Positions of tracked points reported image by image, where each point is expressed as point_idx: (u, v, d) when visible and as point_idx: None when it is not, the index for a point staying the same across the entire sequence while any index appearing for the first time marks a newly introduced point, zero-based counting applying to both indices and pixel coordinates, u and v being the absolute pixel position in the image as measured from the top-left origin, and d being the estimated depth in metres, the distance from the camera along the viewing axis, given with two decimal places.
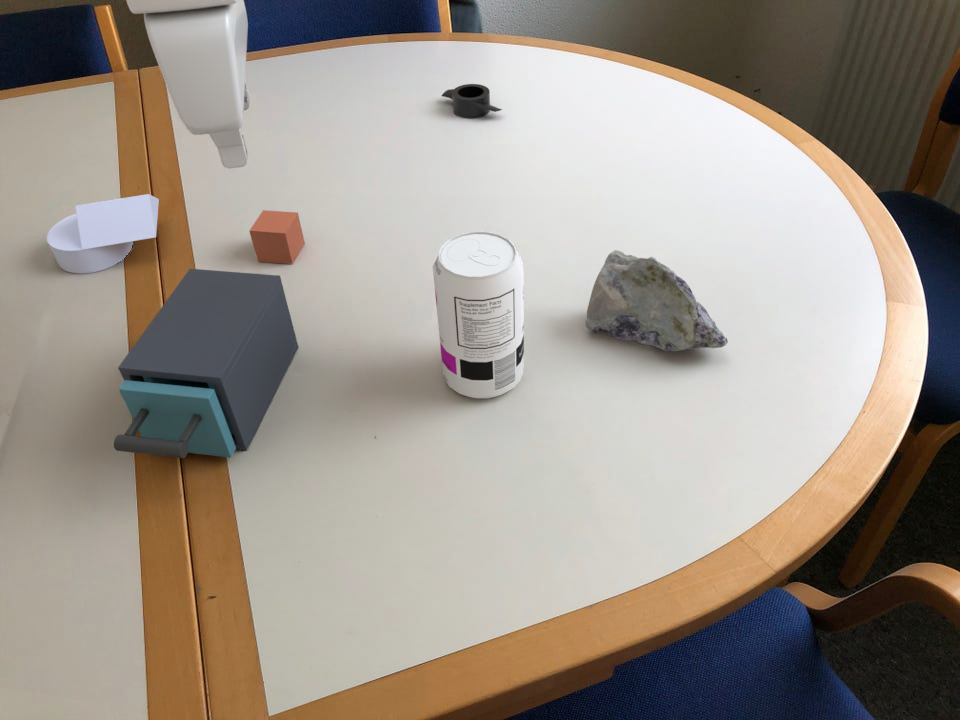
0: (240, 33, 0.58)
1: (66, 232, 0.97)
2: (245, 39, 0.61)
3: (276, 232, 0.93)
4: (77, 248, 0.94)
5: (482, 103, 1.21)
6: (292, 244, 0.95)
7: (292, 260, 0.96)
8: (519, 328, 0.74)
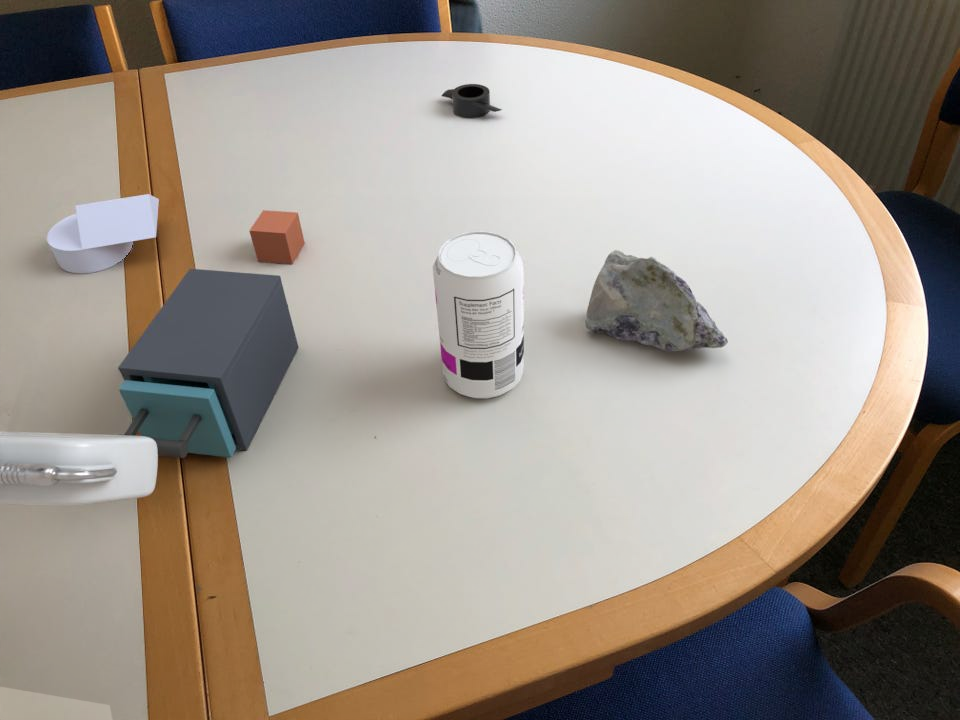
0: None
1: (66, 232, 0.97)
2: None
3: (276, 232, 0.93)
4: (77, 248, 0.94)
5: (482, 103, 1.21)
6: (292, 244, 0.95)
7: (292, 260, 0.96)
8: (519, 328, 0.74)
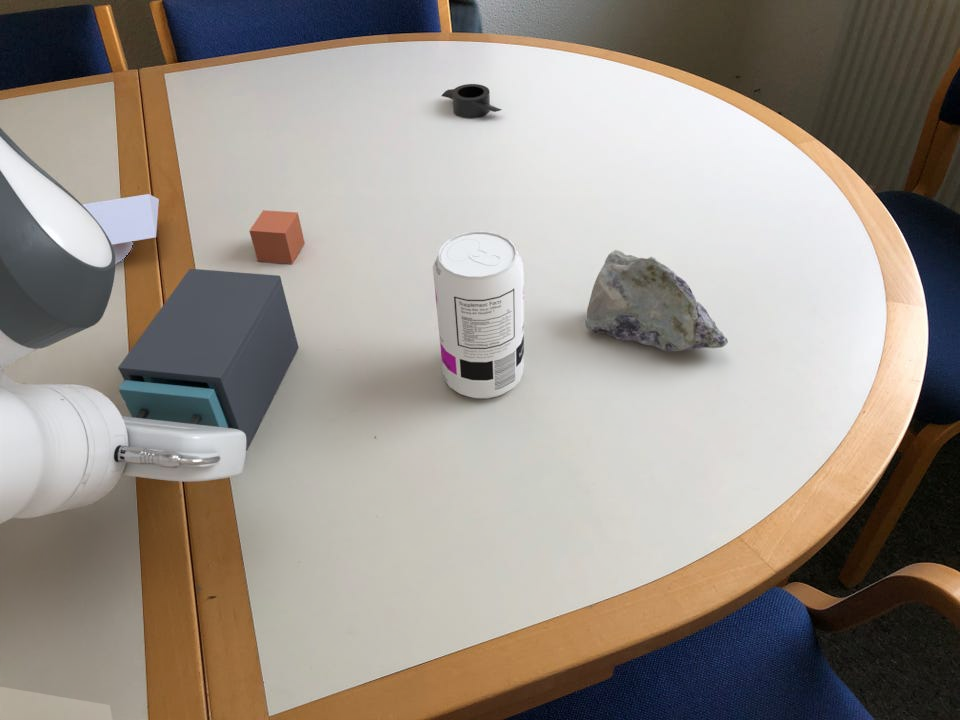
0: None
1: None
2: None
3: (276, 232, 0.93)
4: None
5: (482, 103, 1.21)
6: (292, 244, 0.95)
7: (292, 260, 0.96)
8: (519, 328, 0.74)
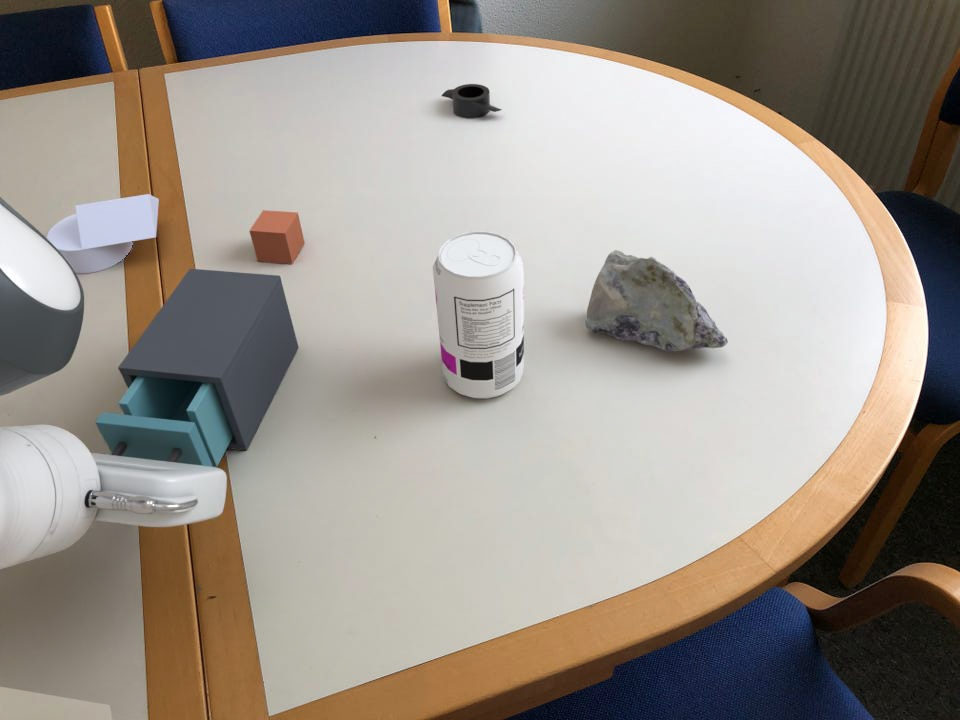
0: None
1: (66, 232, 0.97)
2: None
3: (276, 232, 0.93)
4: (77, 248, 0.94)
5: (482, 103, 1.21)
6: (292, 244, 0.95)
7: (292, 260, 0.96)
8: (519, 328, 0.74)
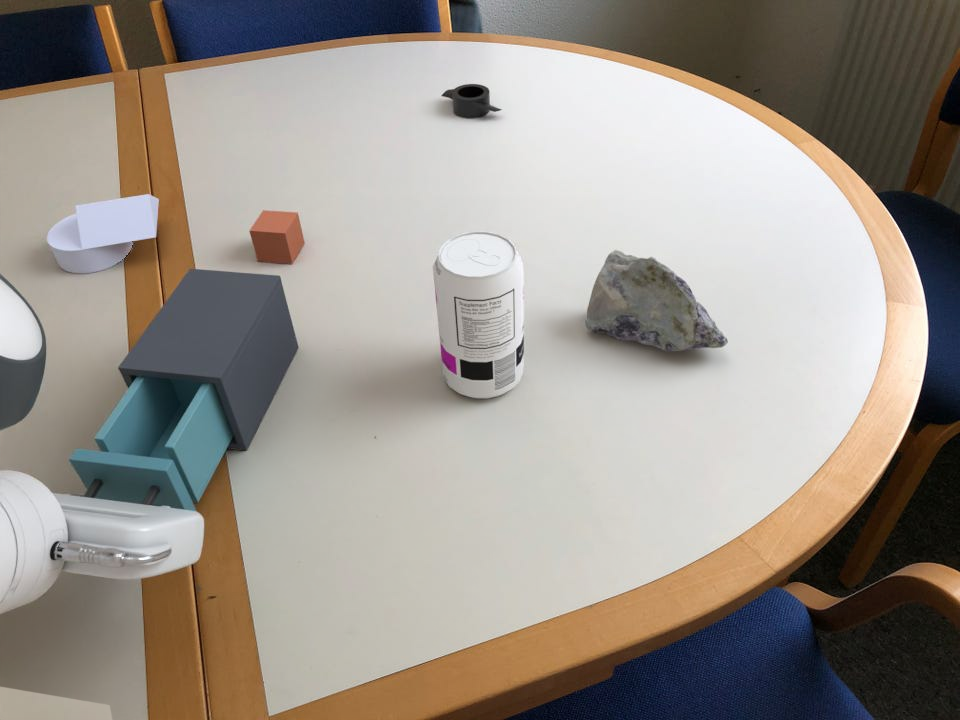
0: None
1: (66, 232, 0.97)
2: None
3: (276, 232, 0.93)
4: (77, 248, 0.94)
5: (482, 103, 1.21)
6: (292, 244, 0.95)
7: (292, 260, 0.96)
8: (519, 328, 0.74)
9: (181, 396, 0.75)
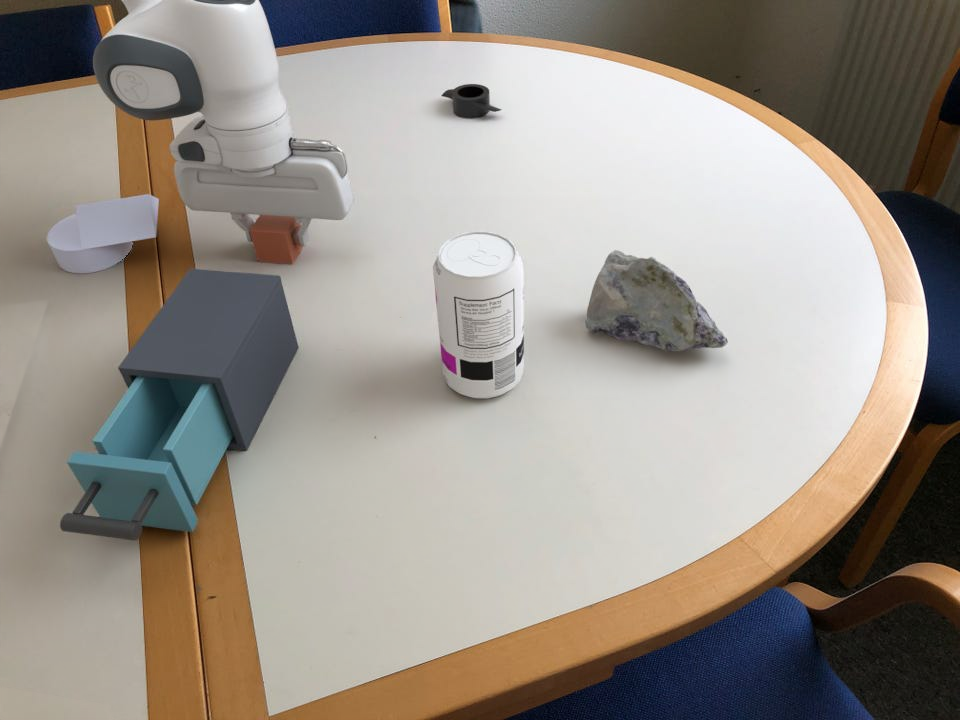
0: (273, 200, 0.91)
1: (66, 232, 0.97)
2: (293, 211, 0.91)
3: (276, 232, 0.93)
4: (77, 248, 0.94)
5: (482, 103, 1.21)
6: (292, 244, 0.95)
7: (292, 260, 0.96)
8: (519, 328, 0.74)
9: (180, 398, 0.75)
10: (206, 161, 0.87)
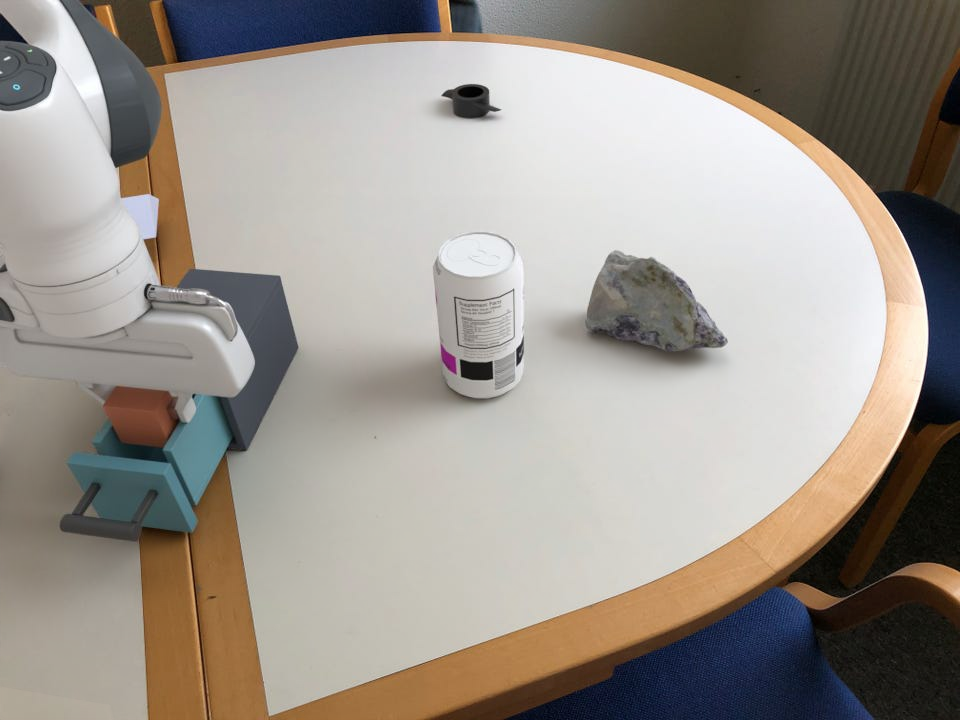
0: (131, 369, 0.60)
1: None
2: (162, 384, 0.61)
3: (141, 409, 0.63)
4: None
5: (482, 103, 1.21)
6: (168, 421, 0.65)
7: None
8: (519, 328, 0.74)
9: None
10: (17, 321, 0.56)
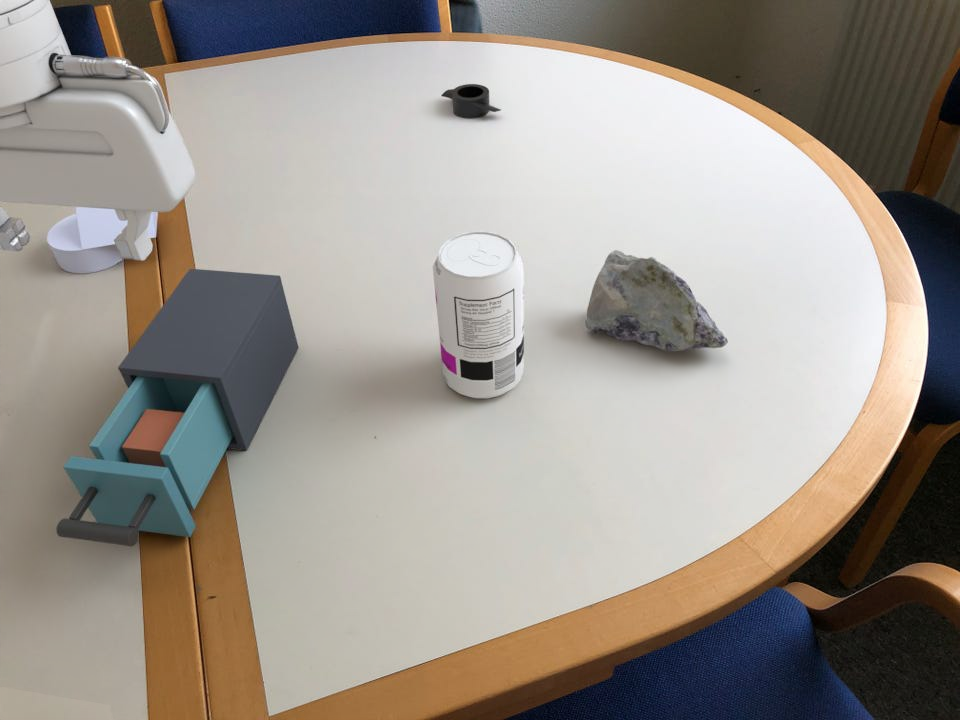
0: (41, 176, 0.49)
1: (66, 232, 0.97)
2: (80, 196, 0.49)
3: (158, 450, 0.66)
4: (77, 248, 0.94)
5: (481, 103, 1.21)
6: None
7: None
8: (519, 328, 0.74)
9: (177, 402, 0.75)
10: None
